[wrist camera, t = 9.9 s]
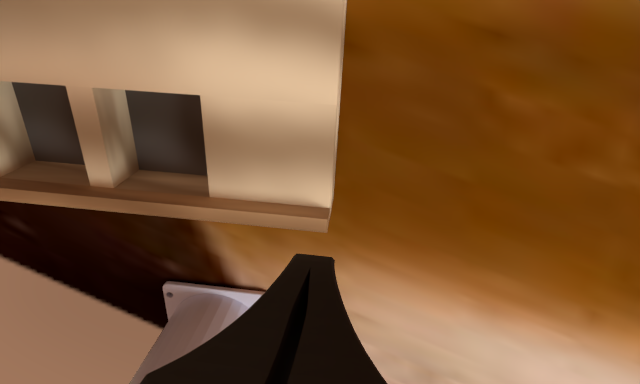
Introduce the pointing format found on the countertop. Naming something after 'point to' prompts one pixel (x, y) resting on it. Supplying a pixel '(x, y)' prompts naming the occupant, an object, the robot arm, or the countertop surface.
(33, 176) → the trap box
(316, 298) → the robot arm
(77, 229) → the countertop surface
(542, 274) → the countertop surface
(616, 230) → the countertop surface
